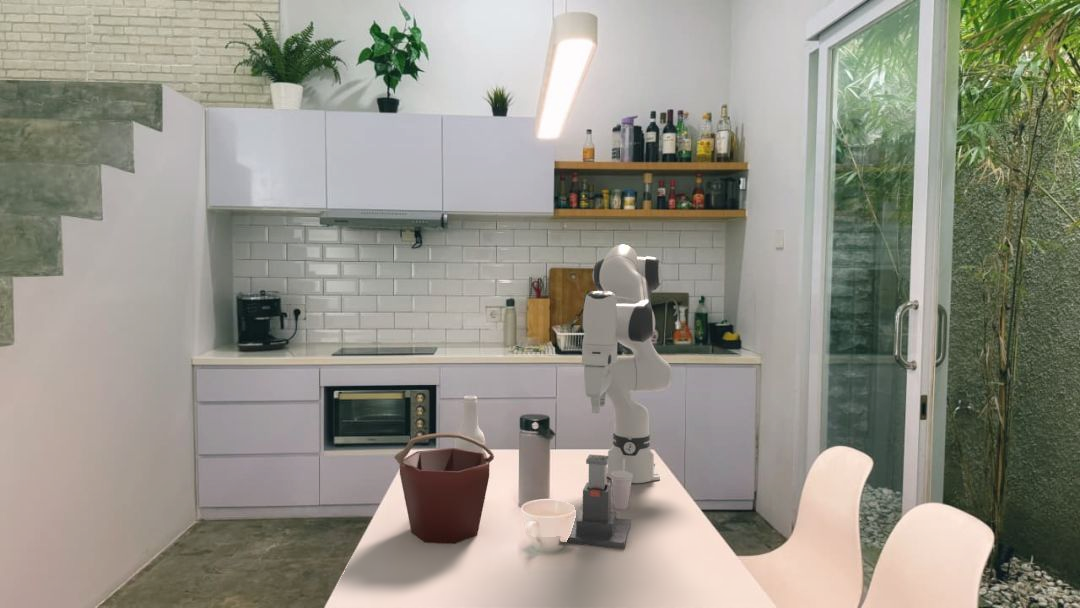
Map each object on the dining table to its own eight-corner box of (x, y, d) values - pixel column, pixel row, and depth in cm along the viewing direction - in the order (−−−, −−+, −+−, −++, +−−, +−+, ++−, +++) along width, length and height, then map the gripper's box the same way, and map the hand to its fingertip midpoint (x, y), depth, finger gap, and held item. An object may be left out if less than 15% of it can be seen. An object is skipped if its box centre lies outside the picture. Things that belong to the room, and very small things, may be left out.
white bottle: (484, 503, 197) (485, 399, 195) (453, 503, 196) (454, 399, 194) (484, 493, 205) (485, 393, 204) (455, 493, 205) (455, 393, 203)
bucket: (386, 546, 165) (386, 444, 164) (408, 513, 187) (408, 423, 186) (487, 549, 164) (488, 446, 163) (497, 516, 186) (498, 425, 185)
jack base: (571, 519, 185) (572, 474, 184) (630, 525, 181) (631, 479, 181) (559, 542, 169) (560, 493, 169) (624, 549, 166) (625, 499, 165)
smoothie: (631, 512, 191) (632, 462, 190) (608, 510, 192) (609, 461, 192) (633, 504, 197) (634, 456, 197) (610, 502, 199) (611, 454, 198)
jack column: (588, 522, 178) (589, 454, 177) (607, 524, 177) (609, 455, 176) (584, 529, 173) (586, 459, 172) (605, 532, 172) (606, 461, 171)
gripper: (593, 350, 184) (592, 401, 185) (580, 358, 164) (579, 416, 165) (617, 351, 183) (616, 402, 183) (606, 360, 163) (605, 417, 163)
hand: (598, 409), depth 174 cm, fingers open, 8 cm apart
